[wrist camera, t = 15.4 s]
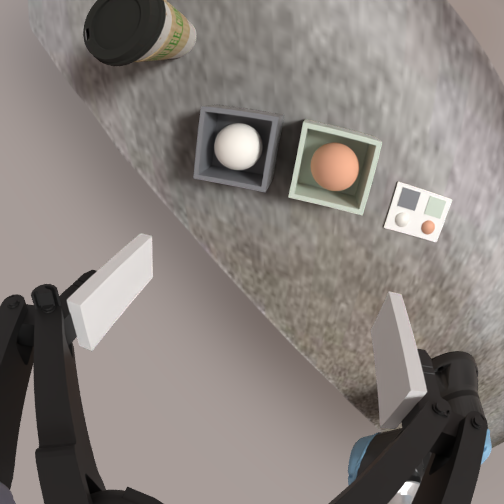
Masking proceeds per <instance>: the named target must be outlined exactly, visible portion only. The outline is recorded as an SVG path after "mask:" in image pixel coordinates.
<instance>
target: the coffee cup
mask: <svg viewBox="0 0 504 504" xmlns="http://www.w3.org/2000/svg"><path fill="white" fill-rule="evenodd" d="M83 36H84V42H85V45H86V47H87V49H88V50H89V52H90V53H91V54H92V55H93V56H94V57H95V58H96V59H98V60H99V61H100V62H102V63H105V64H107V65H111V66H123V65H127V64H130V63H132V62H142V61H154V60H165V59H174V58H179V57H182V56H184V55H186V54H187V53H188V52H189V51H190V50H191V49H192V48H193V46H194V44H195V42H196V30H195V28H194V26H193V25H192V24H191V23H190V22H189V21H188V20H187V19H186V18H185V17H184V16H183V15H182V14H181V13H180V12H179V11H178V10H176V9H175V8H174V7H173V6H172V5H170V4H169V3H168V2H167V1H166V0H97V1H96V2H95V4H94V5H93V6H92V8H91V9H90V11H89V13H88V15H87V18H86V21H85V24H84V32H83Z"/></svg>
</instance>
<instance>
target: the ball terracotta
mask: <svg viewBox="0 0 504 504" xmlns="http://www.w3.org/2000/svg"><path fill="white" fill-rule="evenodd" d="M311 172H312V175H313V178H314V179H315V181H316V182H317V183H318V184H319V185H320V186H321V187H323V188H325V189H327V190H330V191H341V190H344V189H347V188H348V187H350V186H351V185H352V184H353V183H354V182H355V180H356V179H357V177H358V174H359V162H358V159H357V156H356V155H355V153H354V152H353V151H352V150H351V149H350V148H349V147H347V146H346V145H344V144H341V143H334V142H333V143H327V144H324V145H322V146H321V147H319V148H318V149H317V150H316V151H315V153H314V154H313V157H312V160H311Z"/></svg>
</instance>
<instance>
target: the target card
mask: <svg viewBox="0 0 504 504" xmlns="http://www.w3.org/2000/svg"><path fill="white" fill-rule="evenodd" d="M451 202H452V199H450V198H447V197H444V196H441V195H438V194H435V193H432V192H429V191H426V190H423V189H420V188H417V187H414V186H411V185H408V184H404V183H401V182H398V183H397V186H396V190H395V193H394V196H393V200H392V203H391V206H390V209H389V212H388V215H387V218H386V222H385V225H384V228H387V229H391V230H394V231H398V232H401V233H405V234H409V235H412V236H416V237H419V238H423V239H426V240H430V241H433V242H437V240H438V237H439V234H440V232H441V229H442V227H443V224H444V221H445V219H446V216H447V213H448V210H449V207H450V205H451Z"/></svg>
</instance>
